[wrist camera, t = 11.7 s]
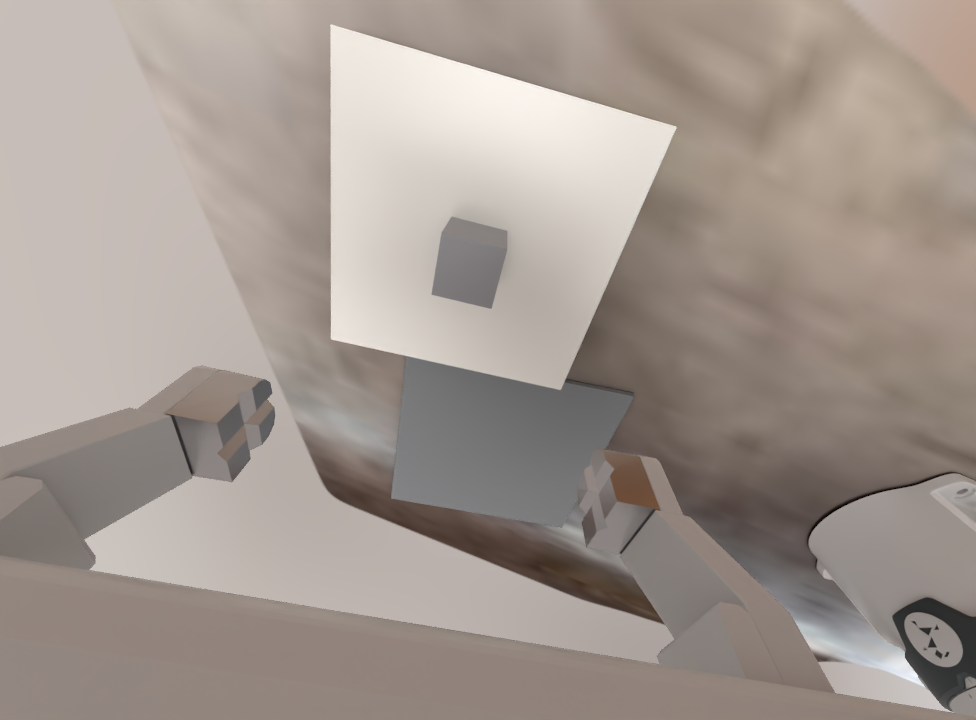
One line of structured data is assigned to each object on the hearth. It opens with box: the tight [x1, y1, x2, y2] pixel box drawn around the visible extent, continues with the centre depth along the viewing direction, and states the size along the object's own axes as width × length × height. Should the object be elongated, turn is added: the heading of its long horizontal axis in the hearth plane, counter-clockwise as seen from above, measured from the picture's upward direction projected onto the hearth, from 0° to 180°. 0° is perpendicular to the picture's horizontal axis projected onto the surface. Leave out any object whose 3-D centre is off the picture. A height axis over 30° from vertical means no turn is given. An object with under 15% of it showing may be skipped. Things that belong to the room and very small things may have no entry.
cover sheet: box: [331, 25, 677, 390], centre depth 22 cm, size 18×18×5 cm
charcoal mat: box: [391, 356, 635, 528], centre depth 36 cm, size 20×20×1 cm
